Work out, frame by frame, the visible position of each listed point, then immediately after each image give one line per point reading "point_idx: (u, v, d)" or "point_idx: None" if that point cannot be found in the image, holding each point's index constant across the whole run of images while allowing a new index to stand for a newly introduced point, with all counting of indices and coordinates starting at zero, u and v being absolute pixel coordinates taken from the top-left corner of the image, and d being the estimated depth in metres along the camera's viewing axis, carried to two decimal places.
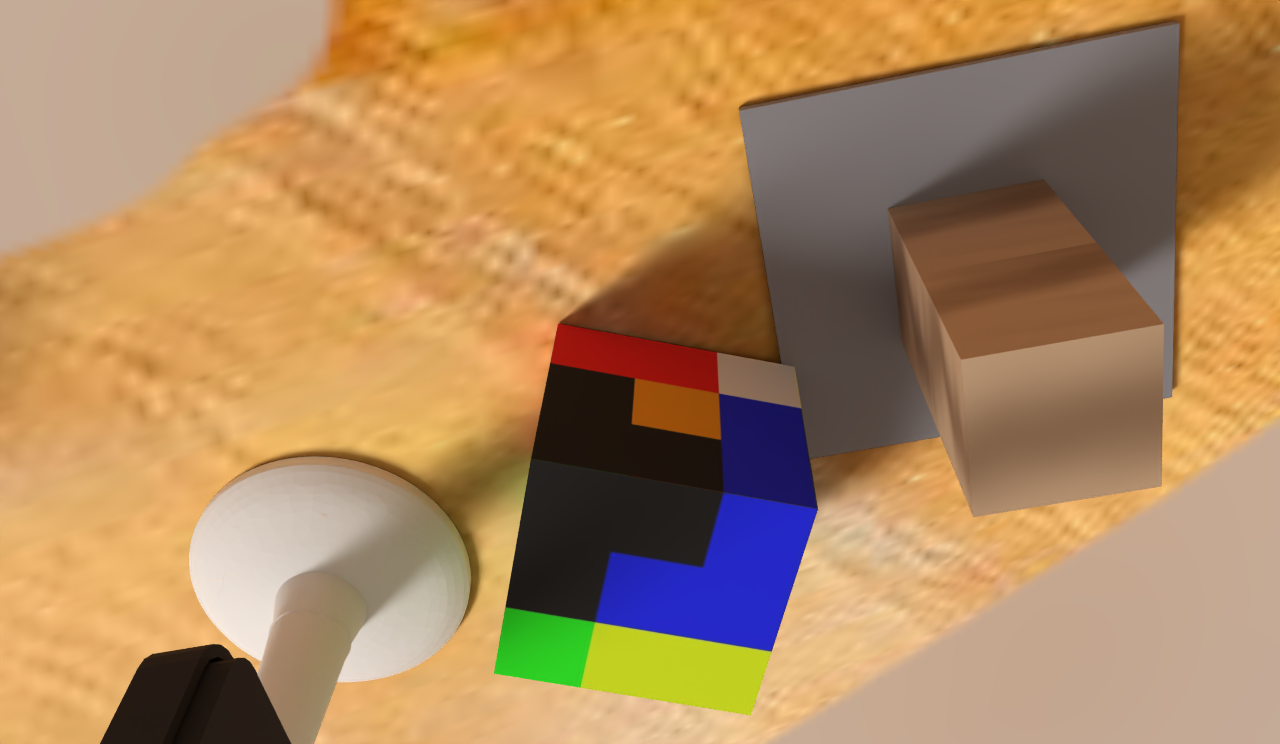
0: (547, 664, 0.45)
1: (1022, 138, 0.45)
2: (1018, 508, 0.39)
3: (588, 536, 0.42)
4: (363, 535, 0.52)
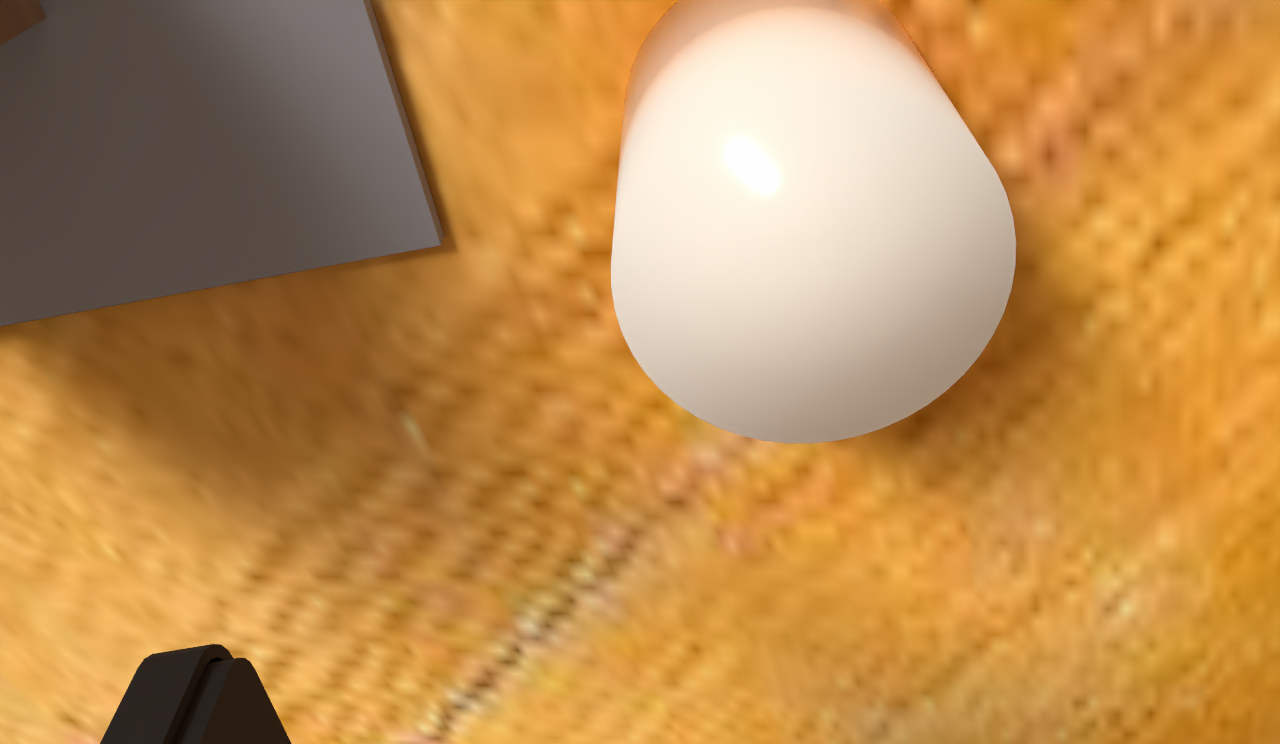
0: None
1: None
2: None
3: None
4: None
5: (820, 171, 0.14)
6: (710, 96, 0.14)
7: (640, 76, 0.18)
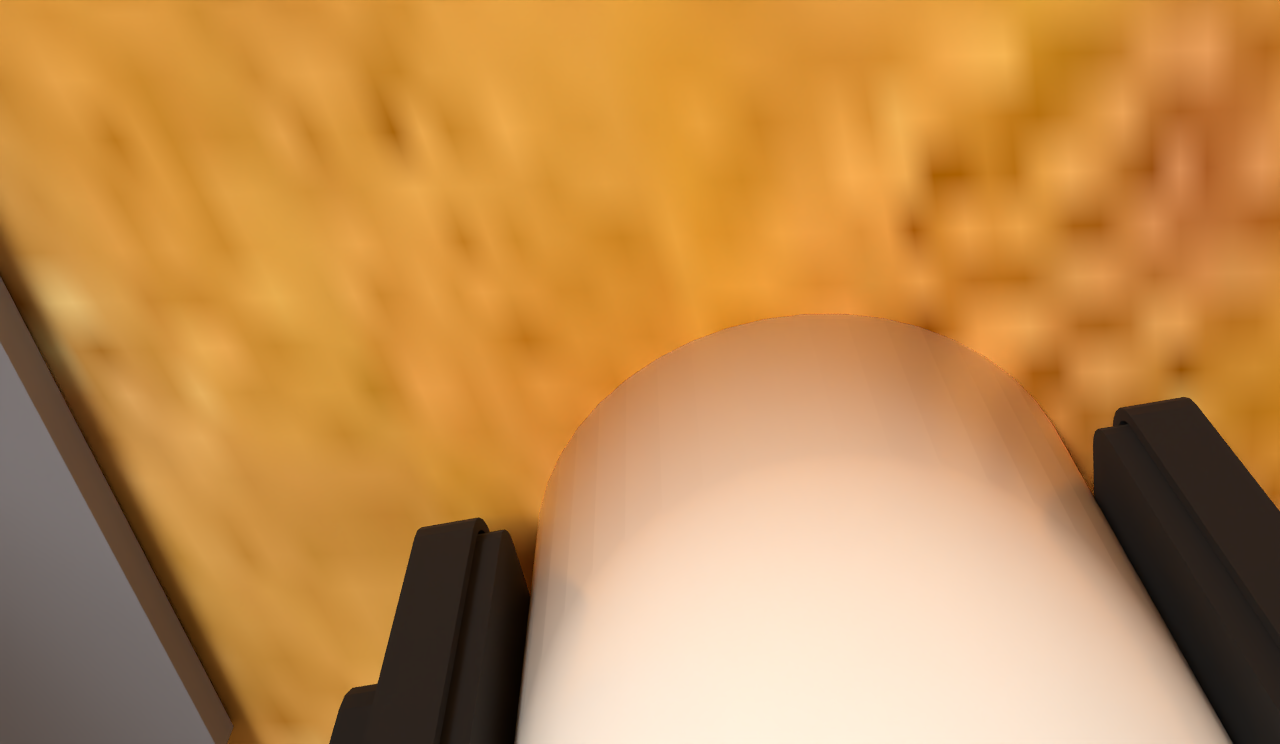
0: None
1: None
2: None
3: None
4: None
5: None
6: None
7: (556, 565, 0.09)
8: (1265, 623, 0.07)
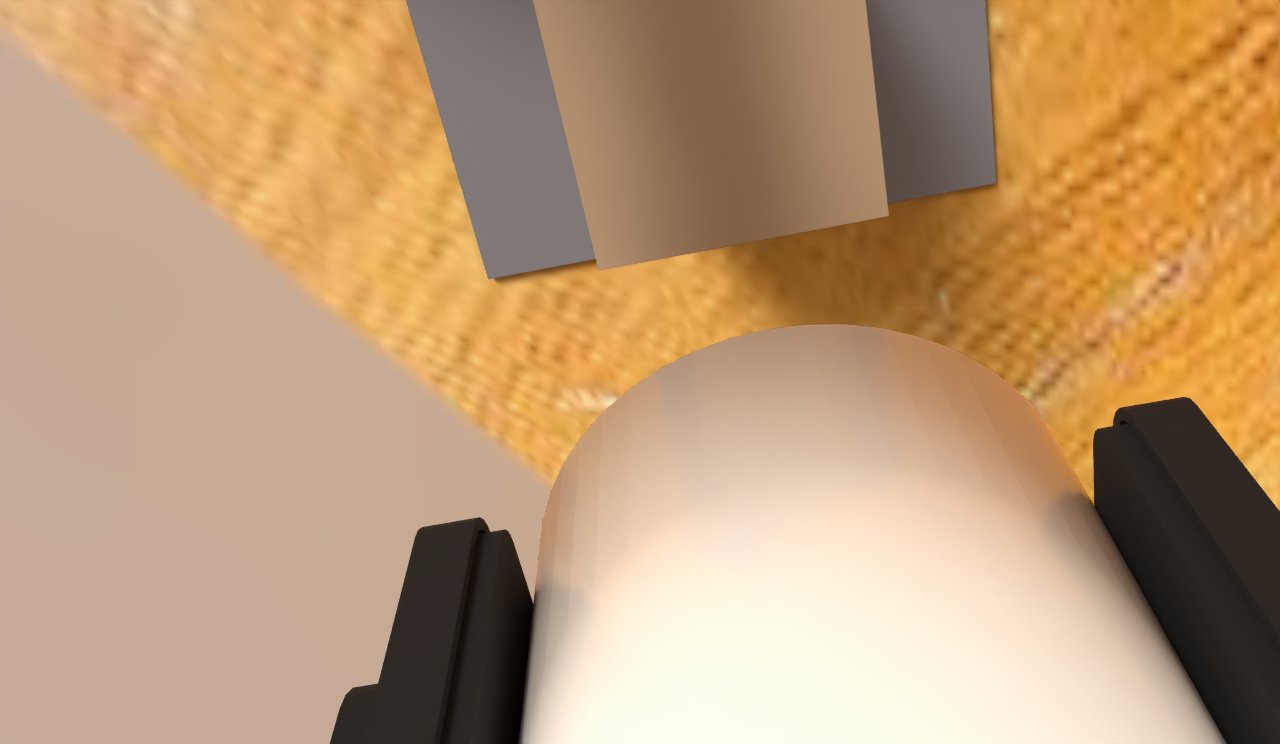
0: None
1: (871, 17, 0.34)
2: (546, 55, 0.23)
3: None
4: None
5: None
6: None
7: (559, 575, 0.09)
8: (1265, 621, 0.07)
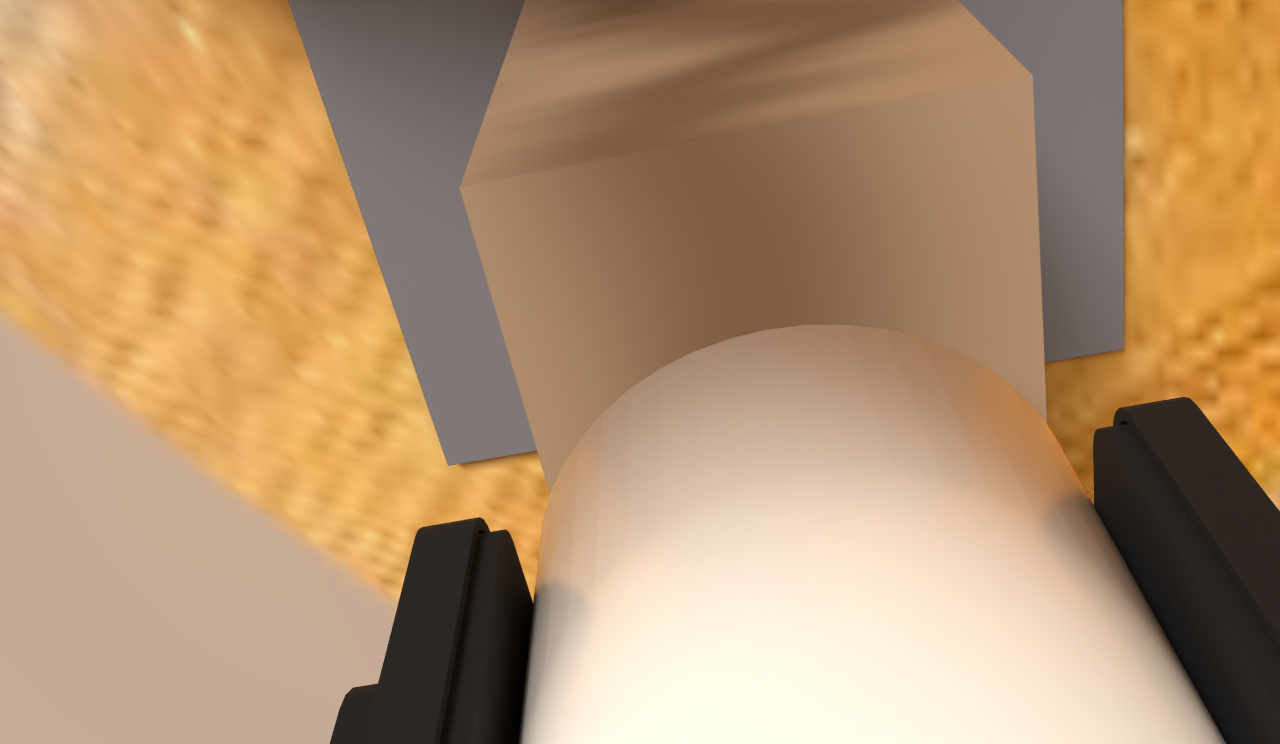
0: None
1: None
2: (495, 306, 0.13)
3: None
4: None
5: None
6: None
7: (558, 576, 0.09)
8: (1265, 623, 0.07)
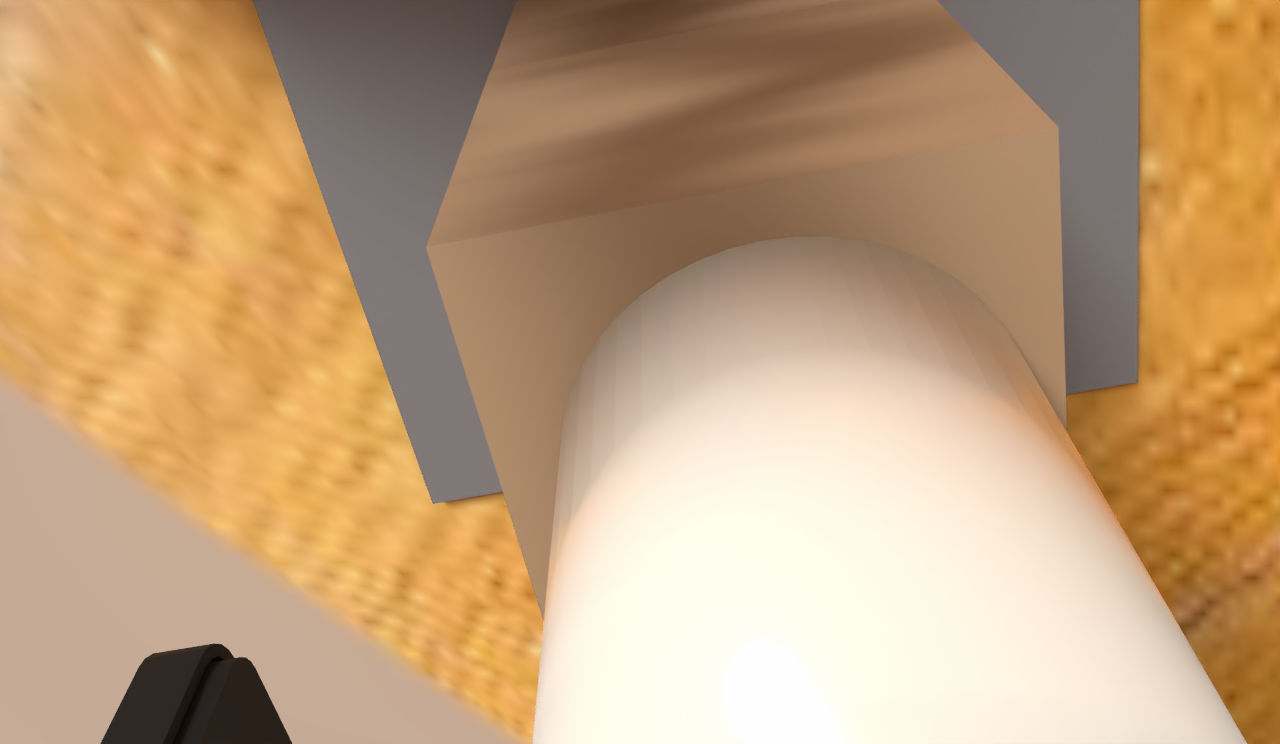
0: None
1: None
2: (466, 373, 0.12)
3: None
4: None
5: None
6: (707, 677, 0.07)
7: (581, 445, 0.11)
8: None
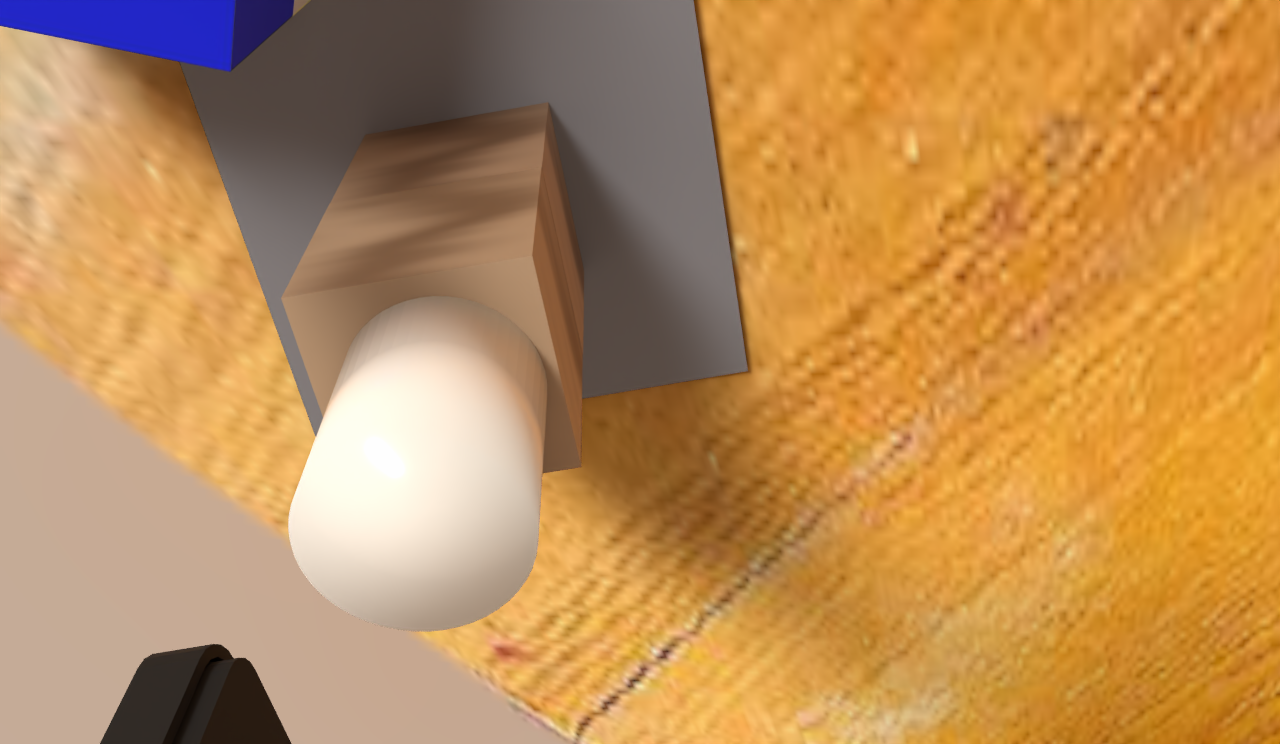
0: None
1: (632, 242, 0.41)
2: (300, 351, 0.29)
3: None
4: None
5: (410, 480, 0.24)
6: (344, 434, 0.24)
7: (338, 377, 0.27)
8: None
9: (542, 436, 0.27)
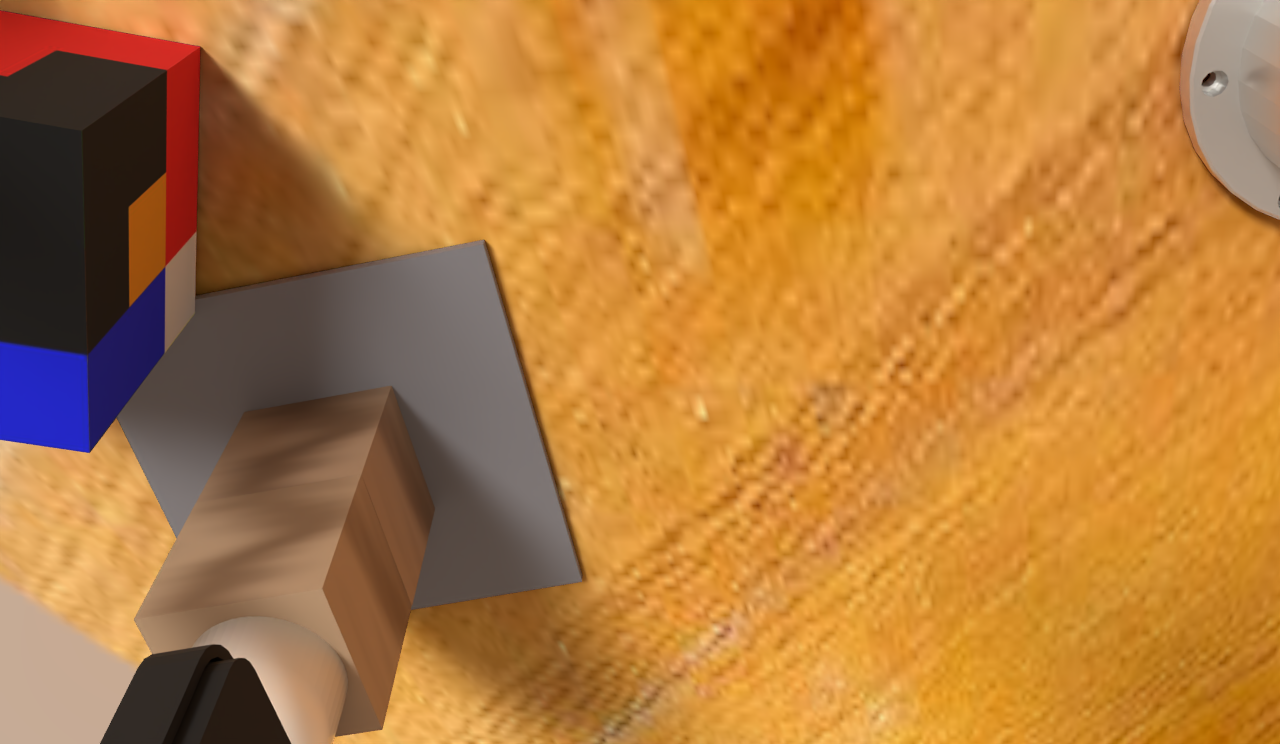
0: None
1: (473, 486, 0.49)
2: (152, 653, 0.37)
3: None
4: None
5: None
6: None
7: None
8: None
9: (326, 734, 0.35)
